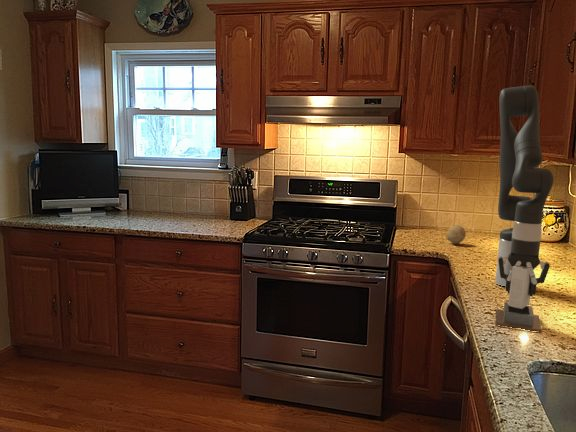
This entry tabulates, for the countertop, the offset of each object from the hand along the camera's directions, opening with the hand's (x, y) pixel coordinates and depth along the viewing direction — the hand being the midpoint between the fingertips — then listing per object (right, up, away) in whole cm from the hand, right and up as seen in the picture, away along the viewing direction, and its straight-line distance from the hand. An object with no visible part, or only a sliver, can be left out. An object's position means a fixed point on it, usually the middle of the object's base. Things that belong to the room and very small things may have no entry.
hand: (519, 294), depth 151 cm
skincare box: (0, -4, 0) cm, 4 cm away
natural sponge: (+17, +8, +110) cm, 112 cm away
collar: (0, -8, +1) cm, 9 cm away
